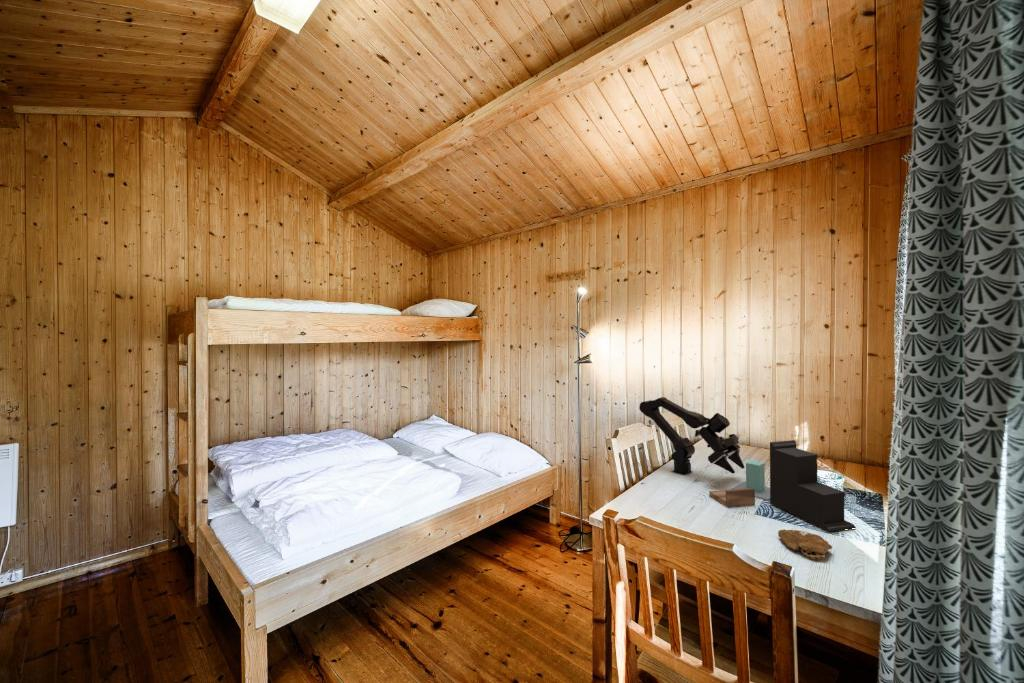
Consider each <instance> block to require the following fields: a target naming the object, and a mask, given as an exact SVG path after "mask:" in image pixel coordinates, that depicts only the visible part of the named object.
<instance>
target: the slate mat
mask: <svg viewBox="0 0 1024 683" xmlns="http://www.w3.org/2000/svg"><path fill="white" fill-rule="evenodd" d="M731 489H746V481H742V482H741V483H739V484H738V485H736V486H734V487H732V488H731ZM756 497H757V498H756ZM755 498H756V499H760V498H761V500H764V501H767V500H768V501H770V500H769V499H770V486H766V485H765V490H764V491H763V492H761V493H757V492H755Z"/></svg>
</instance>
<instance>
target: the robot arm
mask: <svg viewBox="0 0 1024 683" xmlns="http://www.w3.org/2000/svg"><path fill="white" fill-rule="evenodd" d="M638 406H639V408H638V409H639V411H640V412H641V413H642V414H643V415H644V416H645V417H647V418H649V419H651V420H652V421H653V422H654V423H655V425H657V427H658V428H659V429H660V430H661V431H662V433H663V434H664V435H665V436H666V438H668V440H669V441H670V442H671V443H672V447H673V450H674V452H673V453H672V454H671V455H670V456H671V459H672V460H673V470H672V471H671V472H672V473H676V474H679V475H683V476H686V475H688V474H691V473H692V472H693V471H692V463H691V459H692V457H693V455H694V454H695V452H696V448H695V446H694V443H693V442H692V441H691V440H690V439H689V438H688V437H687V436H686V437H682V436H681V435H680V434H679V433H678V432H677V431H676V430H675V428H674V427H673V426H672V425H671V424H670V423H669V422H668V420H666V418H665V417H664V416H663V415H662V414H661V411H660V407H661V408H662V409H665V410H667V411H668V412H670V413H672V414H673V415H675V416H676V417H678V418H680V419H681V420H683V421H684V423H685V424H686V425H687V426H689V427H690V428H692V429H695V431H694V432H695V433H694V437H701V438H702V439H703V440H704V442H705V443H706V444H707V445H706V447H707V448H710V449H711V450H712V451H713V452H712V453H710V455H708V456H707V459H708V462H709V463H710V464H712V465H716V466H717V467H720V468H722V469H724V470H726V472H727V471H728V472H729V473H731V474H735V473H736V471H735V469H734V468H733V466H732V465H731V464H730V462H729V461H728V459H729V460H730V461H731V462H732V463H733V464H735V465H737V466H738V467H739V468H741V469H743V470H744V469H746V465H744V462H743V460H742V458H741V456H740V452H741V446H740V445H739V444H740V442H739V436H737V435H736V434H734V433H731V434H729V435H728V437H727V438H726V437H725V438H724V437H723V436H719V435H718V434H721V433H722V432H723V431H724V430H725V429H727V428H728V427H730V424H731V423H730V420H729V419H728V418H727V417H725V416H724V415H722V414H720V413H719V412H716V413H715V414H714V415H713V416H712V417H711V418H709V417H706V416H705V415H704V414H702V413H699V412H697V411H691V410H688V409H686V408H684V407H682V406H680V405H678V404H677V403H674V402H673V401H671V400H669V399H668V398H667V397H664V396H662V397H658V398H657V399H656V398H655V399H654V400H651V399H649V400H644V401H641V402H640V403H639V405H638ZM698 428H700V429H698Z"/></svg>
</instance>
